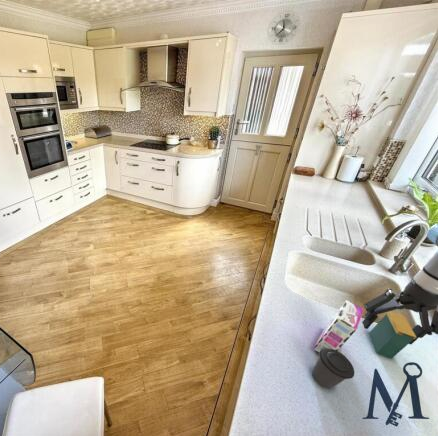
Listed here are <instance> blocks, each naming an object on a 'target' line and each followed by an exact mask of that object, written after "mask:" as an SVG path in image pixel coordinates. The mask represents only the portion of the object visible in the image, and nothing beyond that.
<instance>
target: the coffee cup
mask: <svg viewBox="0 0 438 436" xmlns="http://www.w3.org/2000/svg"><path fill="white" fill-rule="evenodd" d="M311 376H312V379H313V380H314V382H315V383H316V384H317V385H318V386H319V387H321V388H323V389H327V390H329V389H332V388H334V387H335V386H338V385H339V384H341V383H342V382H343V381H345V380H349V379H353V378H354V377H355V368H354V365H353V364H352V362H351V361H350V359H349V358H348V357H347V356H346V355H344V354H343V353H341V352H340V351H339V350H338V351H336V350H334V349H330V348H325V349H322V350H321V351H320V354H319V356H318V359H317V361H316V363H315V366H314V367H313V369H312V371H311Z"/></svg>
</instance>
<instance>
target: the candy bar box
mask: <svg viewBox="0 0 438 436" xmlns="http://www.w3.org/2000/svg"><path fill="white" fill-rule="evenodd" d="M364 311H365V308H362V307H361V306H359V305H356V304H354V303H353V302H352V301H349V300H347V299H346V300H345V301H344V302H343V304H342V305H341V306H340V308H339V309H338V310H337V312H336V313H335V314H334V315H333V317H332V318H331V320H330V321H329V322H328V323H327V325H326V326H325V327H324V329H322V332H321V333H320V335H319V337H318V339H317V341H316V343H315V344H314V346H313V348H312V349H313V351H314V352H316V353H318V354H319V355H320V351H321V350H322V349H325V348H330V349H334V350H336V351H338V352H339V350H340V349H341V348H342V347H343V345H344V344H345V343H346V342H347V341H348V340H349V339H350V338H351V337H352V336H353V335H354V333H356V331H357V330H358V327H359V324H360V322H361V319H362V317H363V314H364Z"/></svg>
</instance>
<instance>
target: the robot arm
mask: <svg viewBox="0 0 438 436" xmlns="http://www.w3.org/2000/svg"><path fill="white" fill-rule="evenodd" d="M426 237H427V238H428V240H429V241H430V242H432V243H433V245H435V246H436V247H438V223H435V224H433V225H432V226H431V227H429V229H428V230H427V232H426ZM363 306H364V310H365V311H366V313H365V314H364V319H363V320H362V321H361V323H362V327H363V328H364V329H365V330H368V329H369V328H370V327H371V326H372V325H373V323H374V322H375V321H376V320H377V319H378V318H379V316H378V315H380V314H384V313H387V312H388V311H390V312H392V311H396V310H404V309H405V310H408V311H413V312H415V313H417V314H419V315H418V317H419V320H420V324H416V325H415V326H414V327H413V328H412V330H413V332H414V334H415V335H416V338H415V339H413V340H412V341H411V342H410V343H409V344H408V345H413V344H414V343H415V342H416V341H417V340H418V339H419V338H420V339H422V338H424V337H425V336H426V335H427V336H433V333H434V334H435V335H438V249H437V250H436V252H435V253H434V254H433V256H431V258H430V259H428V261H427V262H426V264H425V265H424V266H422V267H421V269H420V270H419V271H417V273H416V274H415V275H414V276H413V278H412V279H411V280H410V281H409V282H408V283H407V284H406V286H405V287H404V289H403V291H400V292H398V291H393V289H392V288H387V289H386V290H385V291H384V292H383V293H382V294H380V295H377V296H376V297H374V298H372V299H371V300H369V301H367V302H365V303H364V304H363ZM432 310H434V312H433V315H432V319H431V322H430V318H429V316H430V315H429V311H432Z"/></svg>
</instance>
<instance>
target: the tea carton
mask: <svg viewBox="0 0 438 436" xmlns="http://www.w3.org/2000/svg"><path fill="white" fill-rule="evenodd" d="M385 313H386V314H385V315H384V316H383V317H382V318H381V319H380V320H379V321H378V322H377V323H376V325H375V326H374V327H372V329H371V330H370V331H369V332H368V336H369V338H370V341H371V343H372V346H373V348H374V350H375V353H376V354H377V355H380V356H383V357H385V358H388V359H390V360H392V359H394V357H396V356H397V355H398V354H399V353H400V352H401V351H402V350H403V349H405V348H406V347H407V346H408V345H410V344H409V343H410V342H411V341H412V340H413V339H415V338H416V335H415V334H414V332H413V330H412V329H413V328H412V327H411V325H410V323H409V322H408V320H407V317H406V316H405V315H402V314H399V313H395V312H392V311H388V312H385Z"/></svg>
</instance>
